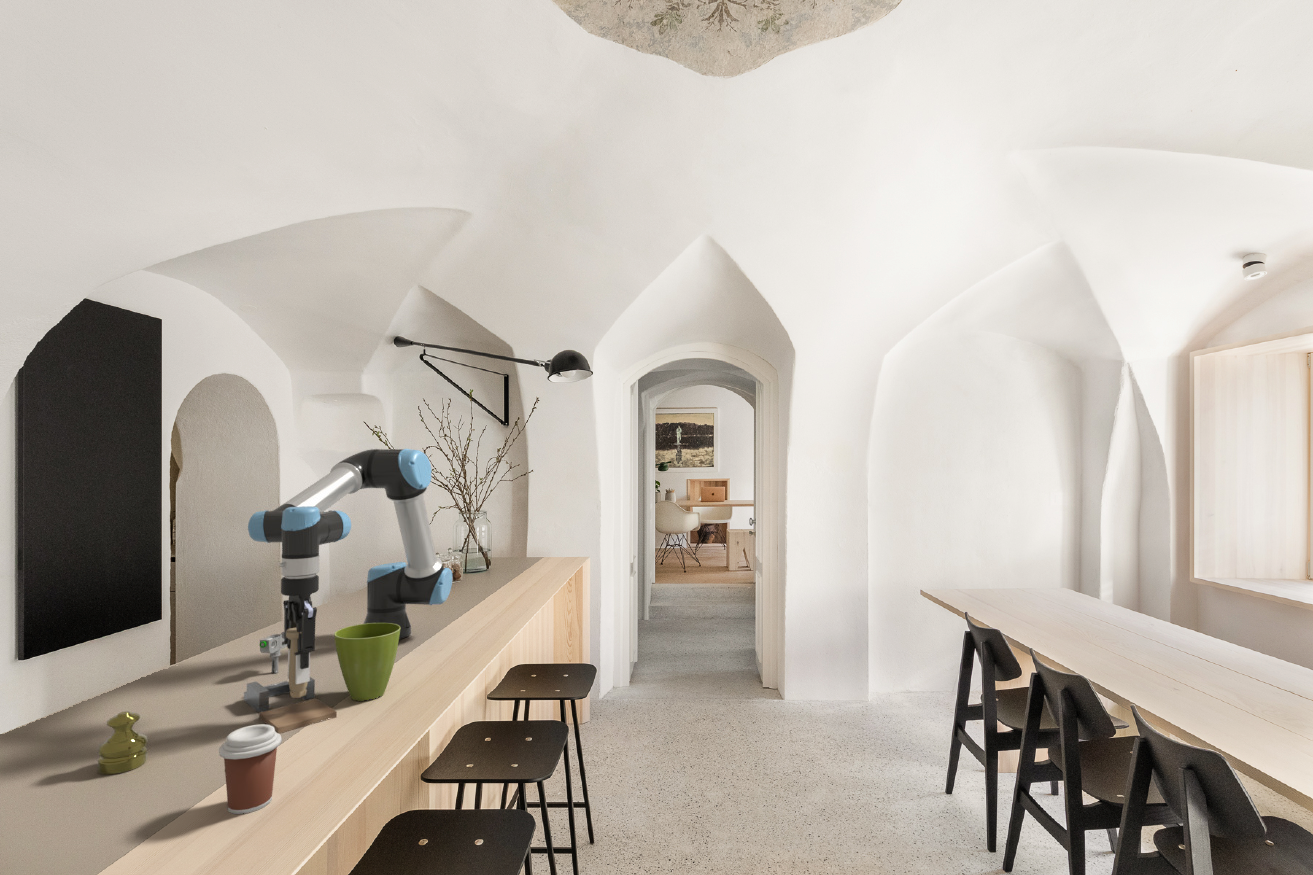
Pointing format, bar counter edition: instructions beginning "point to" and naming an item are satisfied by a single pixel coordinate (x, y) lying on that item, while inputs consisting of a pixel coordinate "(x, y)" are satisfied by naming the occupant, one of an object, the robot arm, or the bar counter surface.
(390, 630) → the flower pot
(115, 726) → the olive glossy bulbous piece
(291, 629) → the handle
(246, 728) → the coffee cup
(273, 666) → the mechanical component
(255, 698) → the vise
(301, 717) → the walnut board
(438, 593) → the robot arm
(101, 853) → the bar counter surface
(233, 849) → the bar counter surface
